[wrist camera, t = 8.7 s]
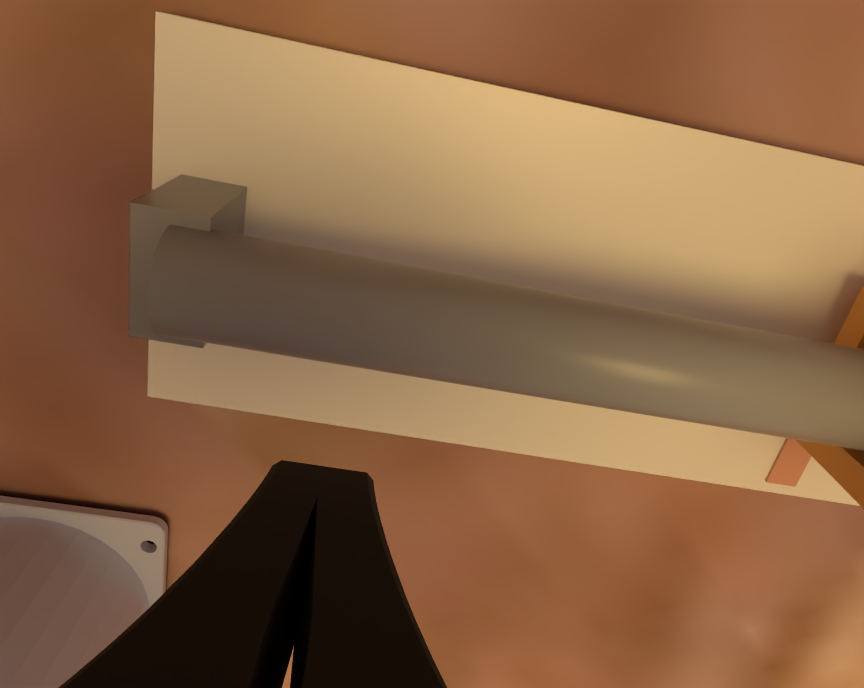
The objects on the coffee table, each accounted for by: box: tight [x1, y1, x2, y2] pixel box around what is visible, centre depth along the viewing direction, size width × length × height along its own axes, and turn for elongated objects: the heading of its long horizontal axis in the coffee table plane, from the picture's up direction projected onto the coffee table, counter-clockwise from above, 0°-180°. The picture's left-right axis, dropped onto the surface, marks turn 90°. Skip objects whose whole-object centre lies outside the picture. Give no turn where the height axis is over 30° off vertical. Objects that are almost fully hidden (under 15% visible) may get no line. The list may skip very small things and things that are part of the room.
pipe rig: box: [129, 11, 864, 506], centre depth 16 cm, size 27×10×6 cm, turn 79°
